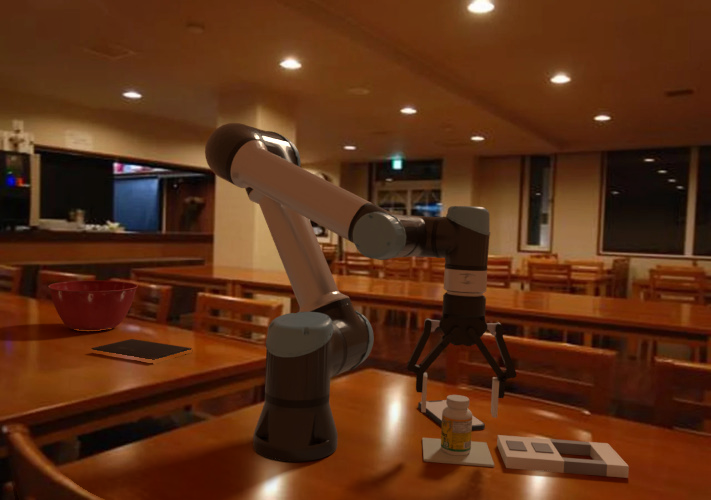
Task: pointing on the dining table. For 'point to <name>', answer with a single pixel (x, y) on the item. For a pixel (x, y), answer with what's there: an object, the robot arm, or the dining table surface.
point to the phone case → (436, 409)
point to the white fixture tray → (547, 456)
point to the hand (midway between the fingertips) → (458, 412)
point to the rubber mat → (476, 456)
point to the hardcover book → (142, 349)
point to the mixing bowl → (92, 303)
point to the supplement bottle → (456, 426)
